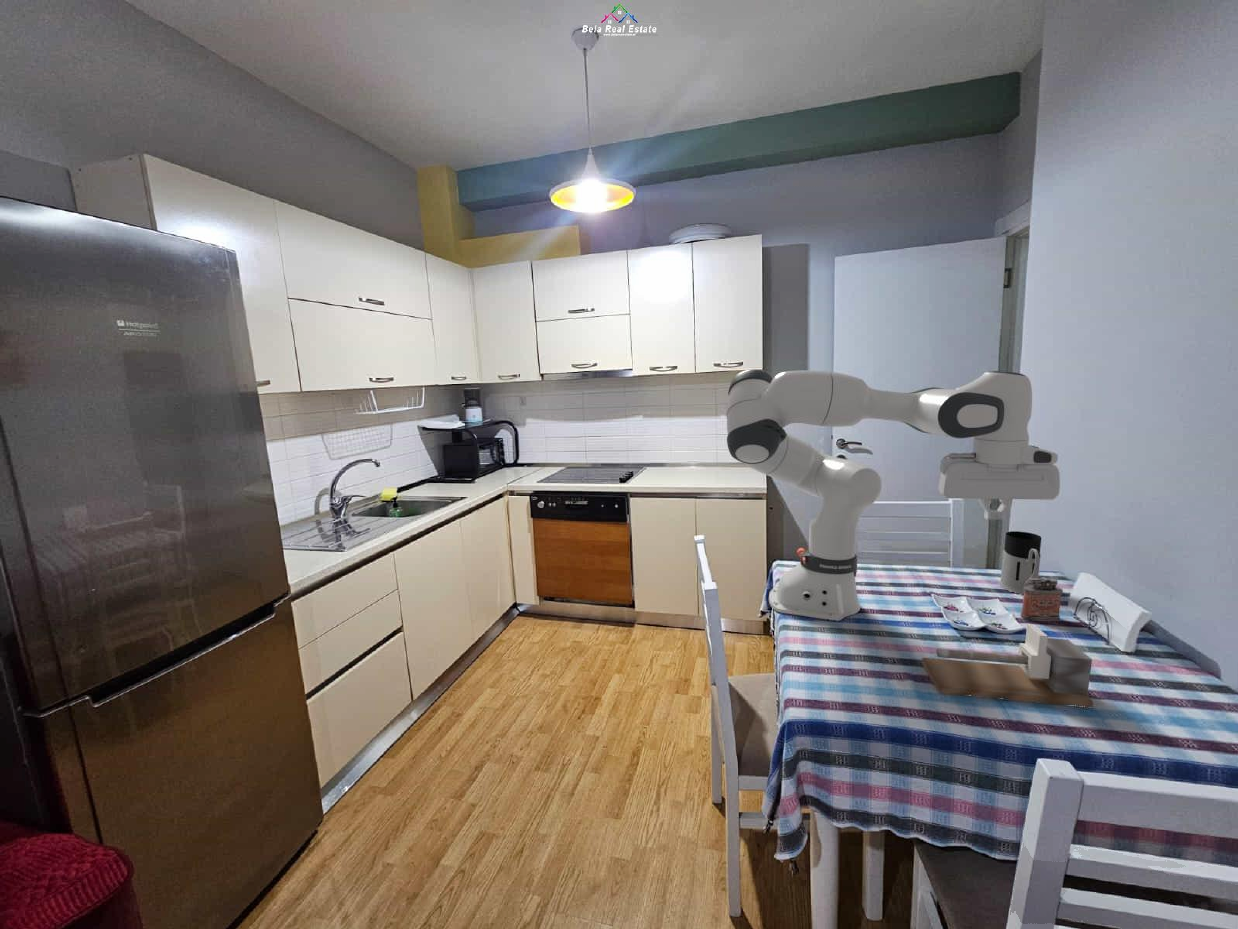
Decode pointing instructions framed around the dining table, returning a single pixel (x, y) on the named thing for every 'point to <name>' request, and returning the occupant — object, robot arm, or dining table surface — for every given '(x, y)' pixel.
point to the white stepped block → (1035, 653)
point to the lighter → (1041, 600)
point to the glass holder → (1020, 560)
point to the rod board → (1014, 675)
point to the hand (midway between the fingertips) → (993, 519)
